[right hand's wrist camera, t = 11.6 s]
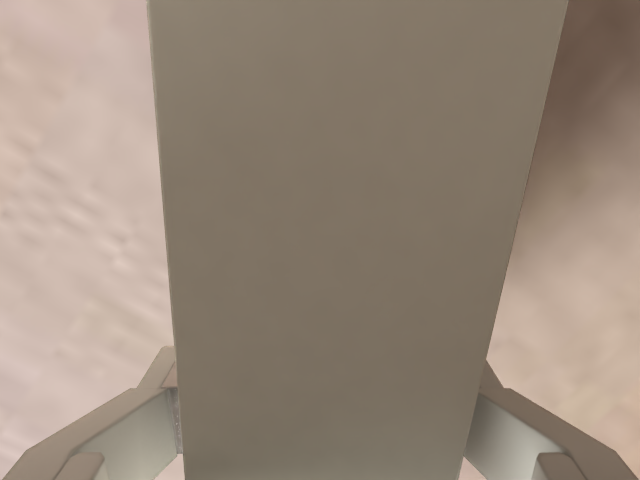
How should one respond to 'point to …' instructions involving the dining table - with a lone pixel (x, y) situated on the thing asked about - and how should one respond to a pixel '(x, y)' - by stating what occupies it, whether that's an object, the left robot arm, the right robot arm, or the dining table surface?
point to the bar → (340, 222)
